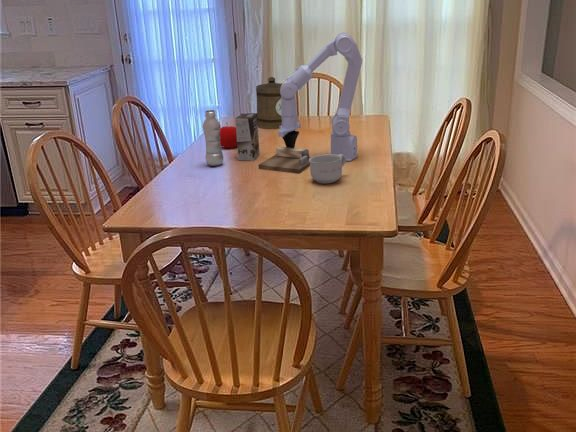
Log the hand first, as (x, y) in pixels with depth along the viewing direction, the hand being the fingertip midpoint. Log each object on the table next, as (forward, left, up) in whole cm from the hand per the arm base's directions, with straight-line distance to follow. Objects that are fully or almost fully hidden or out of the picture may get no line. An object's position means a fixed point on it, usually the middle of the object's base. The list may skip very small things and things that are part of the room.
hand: (290, 151), depth 212 cm
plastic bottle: (+23, +17, -3) cm, 28 cm away
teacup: (-23, +18, -3) cm, 29 cm away
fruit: (+31, -6, -3) cm, 32 cm away
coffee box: (+16, +4, -3) cm, 17 cm away
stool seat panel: (-3, +8, -3) cm, 9 cm away
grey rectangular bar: (-2, +3, -1) cm, 4 cm away
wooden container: (+31, -45, -3) cm, 55 cm away
